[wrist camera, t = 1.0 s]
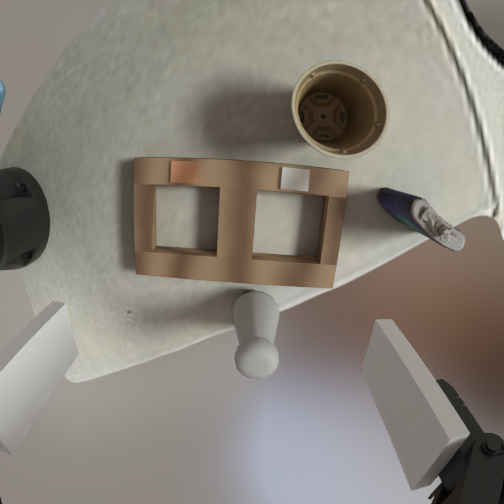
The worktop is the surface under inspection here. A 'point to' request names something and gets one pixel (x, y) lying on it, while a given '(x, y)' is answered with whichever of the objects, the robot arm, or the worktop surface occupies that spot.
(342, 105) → the flower pot
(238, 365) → the salt shaker
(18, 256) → the robot arm
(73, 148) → the worktop surface
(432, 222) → the flask
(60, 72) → the worktop surface
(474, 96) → the worktop surface
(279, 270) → the socket board
